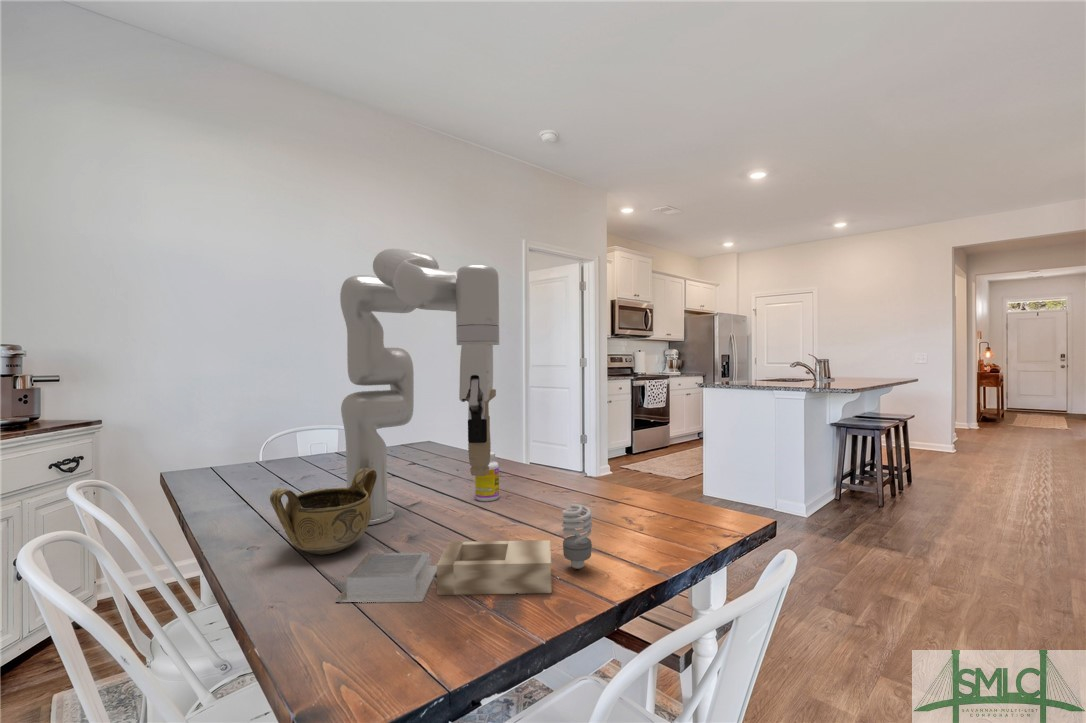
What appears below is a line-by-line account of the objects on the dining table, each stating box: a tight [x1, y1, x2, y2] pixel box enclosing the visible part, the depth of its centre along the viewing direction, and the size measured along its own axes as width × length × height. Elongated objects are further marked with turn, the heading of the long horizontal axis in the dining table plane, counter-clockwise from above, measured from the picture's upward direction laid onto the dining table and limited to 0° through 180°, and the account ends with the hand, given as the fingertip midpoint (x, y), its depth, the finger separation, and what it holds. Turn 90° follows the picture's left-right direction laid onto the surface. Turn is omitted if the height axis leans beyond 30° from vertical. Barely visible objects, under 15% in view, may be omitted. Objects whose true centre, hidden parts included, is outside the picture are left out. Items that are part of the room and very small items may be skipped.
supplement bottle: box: [474, 451, 500, 502], centre depth 140 cm, size 7×7×13 cm
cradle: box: [335, 551, 437, 604], centre depth 87 cm, size 14×13×4 cm
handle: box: [464, 388, 497, 477], centre depth 88 cm, size 5×6×15 cm
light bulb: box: [561, 503, 593, 570], centre depth 92 cm, size 6×6×12 cm
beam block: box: [436, 539, 552, 596], centre depth 88 cm, size 19×10×5 cm, turn 90°
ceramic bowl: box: [269, 468, 377, 556], centre depth 104 cm, size 22×17×15 cm
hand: (479, 439), depth 88 cm, fingers closed on handle, 3 cm apart
